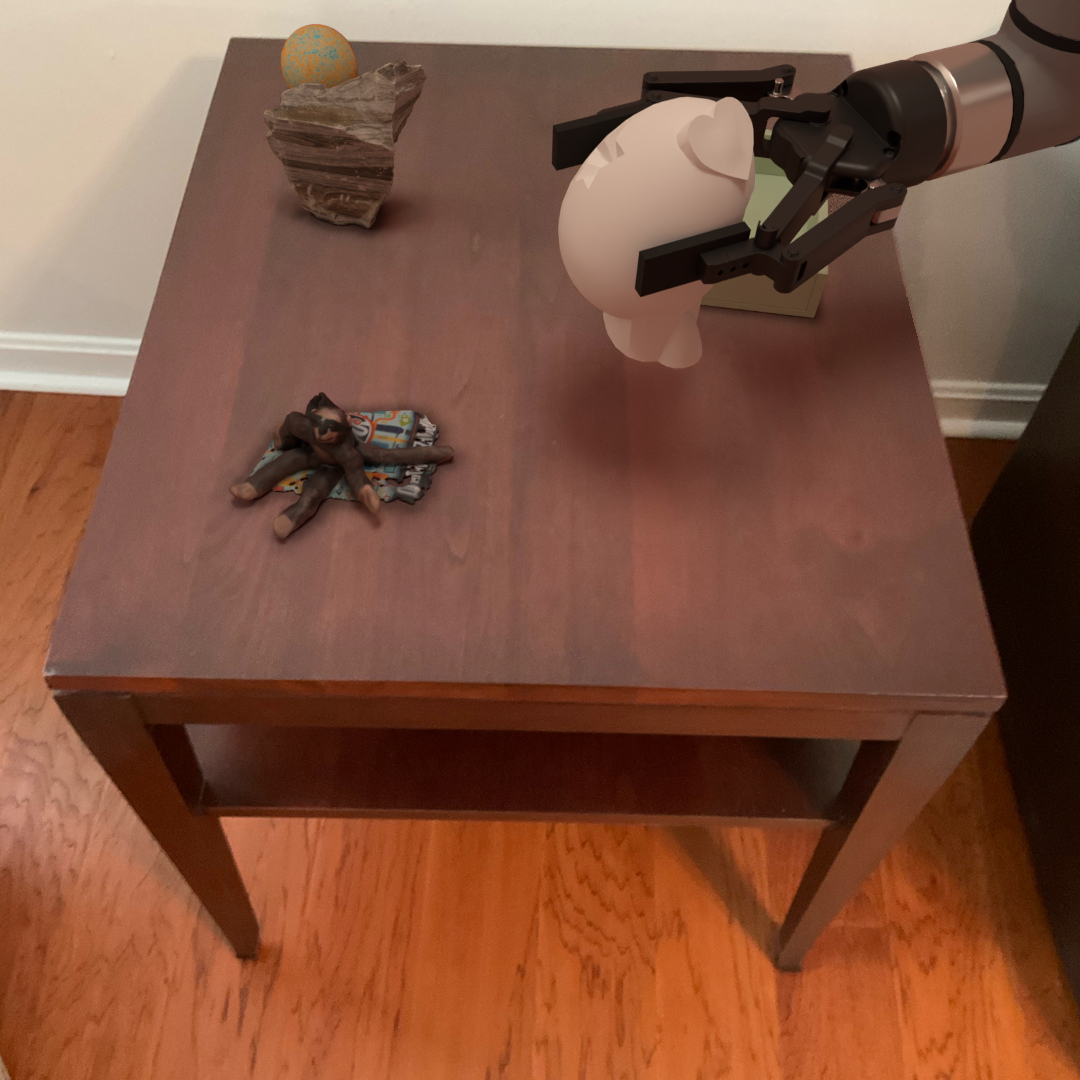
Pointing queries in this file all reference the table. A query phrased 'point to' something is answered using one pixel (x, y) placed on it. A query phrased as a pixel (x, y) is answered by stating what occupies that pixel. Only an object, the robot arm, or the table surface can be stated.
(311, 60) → the ball
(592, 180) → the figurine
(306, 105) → the rock
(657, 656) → the table surface
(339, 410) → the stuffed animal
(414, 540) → the table surface
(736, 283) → the tote
